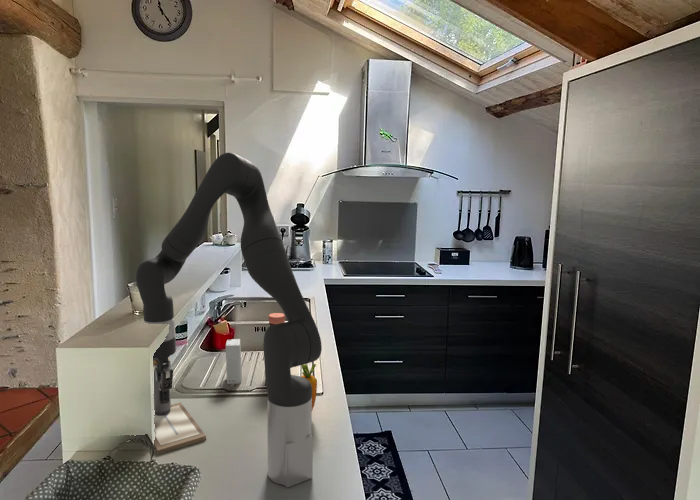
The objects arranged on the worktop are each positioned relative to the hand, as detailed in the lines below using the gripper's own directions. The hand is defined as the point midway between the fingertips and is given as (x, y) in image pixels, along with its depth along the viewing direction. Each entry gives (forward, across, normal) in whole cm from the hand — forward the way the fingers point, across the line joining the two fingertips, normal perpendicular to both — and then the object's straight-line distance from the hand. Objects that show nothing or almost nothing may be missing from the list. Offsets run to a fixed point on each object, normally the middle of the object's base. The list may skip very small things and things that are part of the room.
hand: (162, 399), depth 124 cm
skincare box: (+5, +11, -24) cm, 27 cm away
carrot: (+5, -21, -31) cm, 38 cm away
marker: (+4, 0, 0) cm, 4 cm away
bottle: (+5, +6, -36) cm, 37 cm away
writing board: (+5, -7, 0) cm, 8 cm away
